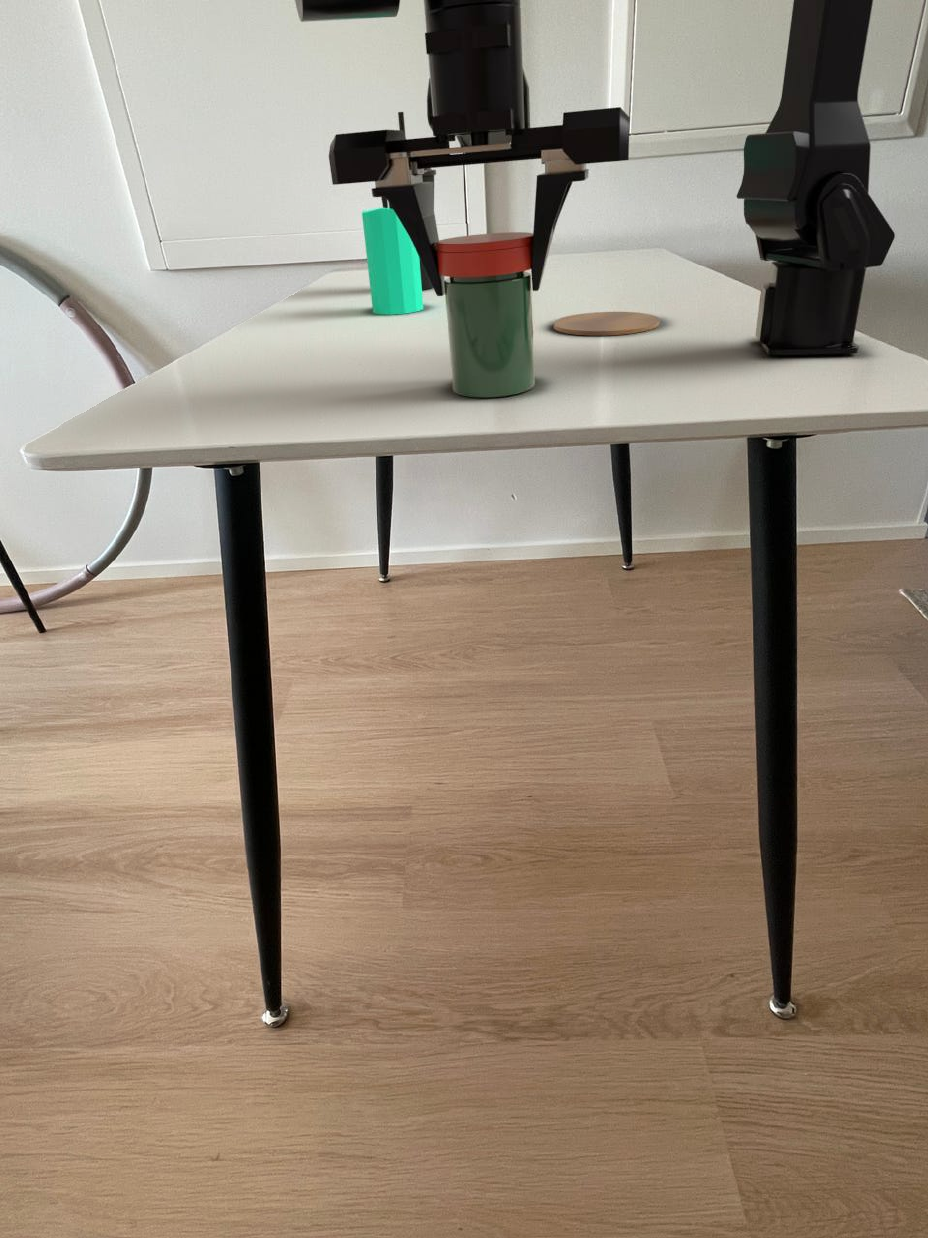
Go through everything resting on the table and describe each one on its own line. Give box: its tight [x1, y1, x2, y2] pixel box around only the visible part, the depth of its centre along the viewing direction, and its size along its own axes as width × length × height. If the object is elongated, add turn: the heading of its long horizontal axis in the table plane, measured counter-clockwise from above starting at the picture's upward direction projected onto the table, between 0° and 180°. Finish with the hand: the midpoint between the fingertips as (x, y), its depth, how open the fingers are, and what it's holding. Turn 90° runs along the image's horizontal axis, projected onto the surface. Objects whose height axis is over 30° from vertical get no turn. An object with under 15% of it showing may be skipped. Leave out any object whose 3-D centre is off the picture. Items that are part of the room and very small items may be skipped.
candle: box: [361, 200, 424, 316], centre depth 89 cm, size 6×6×12 cm
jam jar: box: [444, 271, 536, 399], centre depth 56 cm, size 6×6×9 cm
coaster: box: [553, 311, 660, 337], centre depth 76 cm, size 10×10×1 cm
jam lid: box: [436, 231, 533, 278], centre depth 54 cm, size 7×7×2 cm
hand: (488, 292), depth 55 cm, fingers closed on jam lid, 6 cm apart
